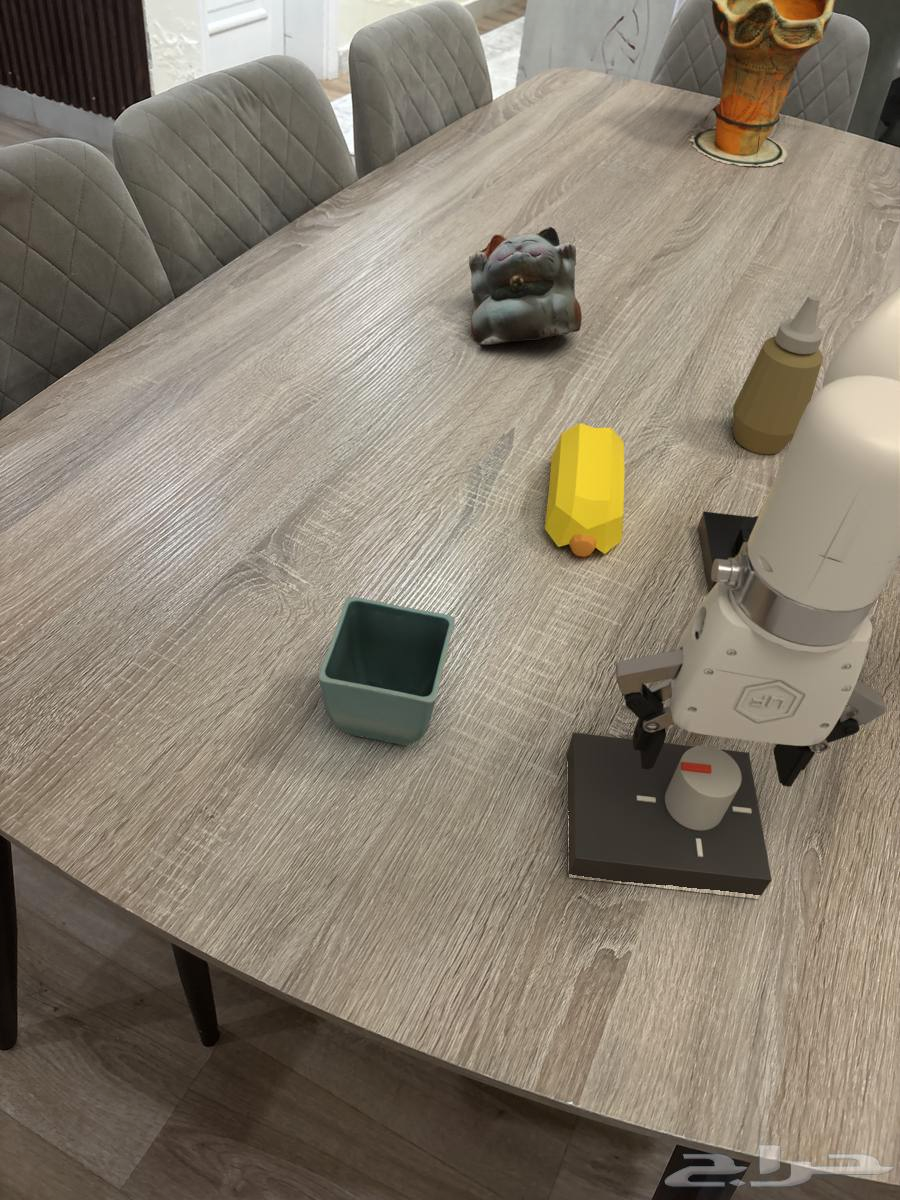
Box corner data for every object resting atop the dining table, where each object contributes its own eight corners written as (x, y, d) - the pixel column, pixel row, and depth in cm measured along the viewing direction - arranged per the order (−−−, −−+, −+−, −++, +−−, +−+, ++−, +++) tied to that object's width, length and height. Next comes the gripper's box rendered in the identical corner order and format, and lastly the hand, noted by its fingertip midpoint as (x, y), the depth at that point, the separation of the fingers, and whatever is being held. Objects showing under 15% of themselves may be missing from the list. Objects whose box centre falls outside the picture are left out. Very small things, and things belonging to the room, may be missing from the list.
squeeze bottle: (712, 442, 108) (763, 298, 96) (739, 412, 113) (790, 271, 100) (778, 471, 106) (839, 326, 93) (803, 438, 110) (864, 297, 98)
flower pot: (427, 772, 74) (435, 701, 67) (317, 750, 74) (316, 678, 68) (446, 687, 80) (456, 615, 73) (345, 667, 80) (346, 594, 74)
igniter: (811, 540, 98) (826, 511, 95) (831, 609, 91) (847, 579, 88) (697, 527, 97) (708, 497, 95) (708, 595, 90) (720, 565, 88)
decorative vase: (653, 142, 174) (693, -35, 154) (725, 120, 186) (771, -47, 166) (745, 182, 164) (801, -2, 144) (815, 156, 176) (876, -17, 156)
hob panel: (737, 773, 76) (750, 750, 74) (758, 900, 68) (772, 879, 66) (566, 753, 76) (573, 730, 74) (567, 878, 68) (575, 856, 66)
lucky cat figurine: (453, 348, 118) (448, 229, 114) (485, 342, 128) (481, 234, 124) (570, 344, 112) (569, 219, 108) (593, 339, 123) (593, 225, 119)
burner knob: (719, 783, 72) (738, 746, 68) (726, 834, 69) (747, 798, 65) (662, 776, 72) (678, 739, 68) (667, 827, 68) (684, 791, 65)
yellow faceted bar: (540, 559, 92) (618, 571, 92) (551, 507, 87) (633, 520, 87) (551, 451, 105) (619, 461, 104) (561, 400, 100) (633, 411, 99)
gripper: (657, 615, 51) (592, 791, 63) (971, 655, 51) (846, 822, 63) (647, 525, 56) (589, 703, 68) (932, 561, 56) (823, 732, 68)
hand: (713, 760), depth 66 cm, fingers open, 9 cm apart
